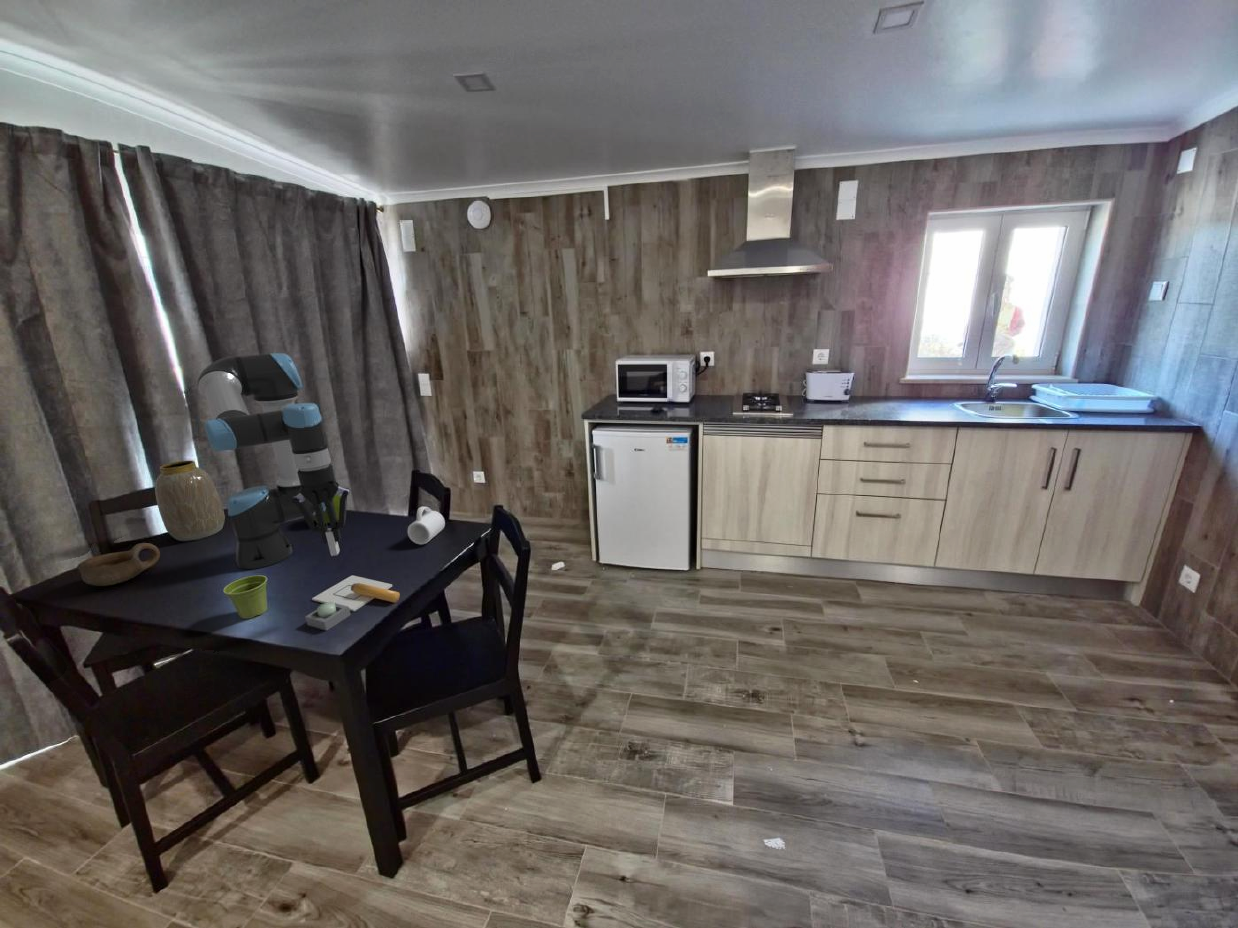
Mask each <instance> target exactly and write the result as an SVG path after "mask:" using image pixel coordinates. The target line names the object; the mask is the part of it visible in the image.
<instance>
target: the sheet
mask: <svg viewBox="0 0 1238 928" xmlns="http://www.w3.org/2000/svg"><path fill="white" fill-rule="evenodd" d="M354 583H356V584H357V583H361V584H365V585H370V586H374V587H378V588H382V589H387V590H390V588H392V587H393V584H392V583H387V582H383V581H379V580H375V579H370V578H366V577H362V576H357V575H353V574H352V575H350V576H349V577H348V576H347V578H345V579H343V580H341V581H340V582H338V583H336V584H335V585H333V586H331V587H329V588H328V589H326V590H324V591H323V592H320V593H319V594H317V595H316V596H314V597H312V598H311V599H312V601H314V602H318V603H321V604H324V603H327V602H333V603H337V604H340V605H344V606H348V607H349V610H350V612H356V611H357V610H359V609H360V608H361V607H363V606H365V605H366V604H368V603H369V602H371V601H372V600H374V599H375V598H373V597H369V596H365V595H361V594H357V593H354V592H353V591H351V586H352V585H353V584H354Z"/></svg>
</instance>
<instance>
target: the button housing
mask: <svg viewBox="0 0 1238 928" xmlns="http://www.w3.org/2000/svg"><path fill="white" fill-rule="evenodd" d="M335 607H336V611H337V612H336V613H334V614H333V615H331V616H329V617H328V618H326V619H323V618H320V617H319V615H318V611H317V609H316V610H313V611H312V612H311V613H310V612H309V614H307V615H305V622H306V625H307V626H309V627H313V628H316V629H320V630H324V631H329V630H330V629H332V628H333V627H335V626H336V625H337V624H339V623H341V622H343V621H344V620H345V619H346V618H349V617H350V616H351V615H352V614H351V610H349V607H348V606H344V605H340V604H337V603H335Z"/></svg>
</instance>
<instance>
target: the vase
mask: <svg viewBox="0 0 1238 928" xmlns="http://www.w3.org/2000/svg"><path fill="white" fill-rule="evenodd" d="M159 471H160V474H159V475H158V476H157V478H156V480H155V482H154V494H155V499H156V504H157V507H158V511H159V515H160V518H161V520H162V523H163V525H164V528H165V530H166V532H167V533H168V534H169V535H170V536H171V537H172V538H173V539H175V540H177V541H180V542H190V541H196V540H197V541H198V540H201V539H205V538H208V537H211V536H213V535H215V534H217V533H219V532H220V531H221V530H222V529H223V528H224V525H225V521H226V520H225V518H226V516H225V512H224V511H225V510H224V508H223V504H222V500H221V499H220V495H219V492H218V490H217V488H216V486H215V483H214V481H213V480H212V478H211V476H210V475H209V473H208V472H206V471H205V469H203V468H200V467H198V466H197V464H196V462H195V460H181V461H174V462H169V463H166V464H163V465H161V466H160V467H159Z"/></svg>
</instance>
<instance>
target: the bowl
mask: <svg viewBox="0 0 1238 928" xmlns="http://www.w3.org/2000/svg"><path fill="white" fill-rule="evenodd" d="M142 550H150V552H151V555H150V557H149V558H148V559H147V560H145V561H142V560H141V559H140V558H139V554H140V551H142ZM160 556H161V553H160V550H159V548H158V547H157V546H156V545H154V544H153V543H149V542H148V543H146V542H142V543H137V544H135V545H133V547H132V548H131V549H129V550H127V551H119V552H118V551H117V552H110V553H105V554H100V555H97V556H92V557H90V558H87V559H85V560H83V561H82V562H80V563H78V564H77V566H76V567H77V570H79V572H80V575H81V579H82V581H83V582H84V583H86V584H87V585H90V586H95V587H107V586H113V585H116V584H117V583H118V584H122V583H124V582H127V581H130V580H129V579H131V578H132V579H134V578H135V577H137V576H138V575H140V574H141V573H142V572H144V571H146V570H147V569H149V568H152V566H154V565H156V563H158V561H159V559H160ZM132 579H131V580H132ZM118 584H117V585H118Z"/></svg>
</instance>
